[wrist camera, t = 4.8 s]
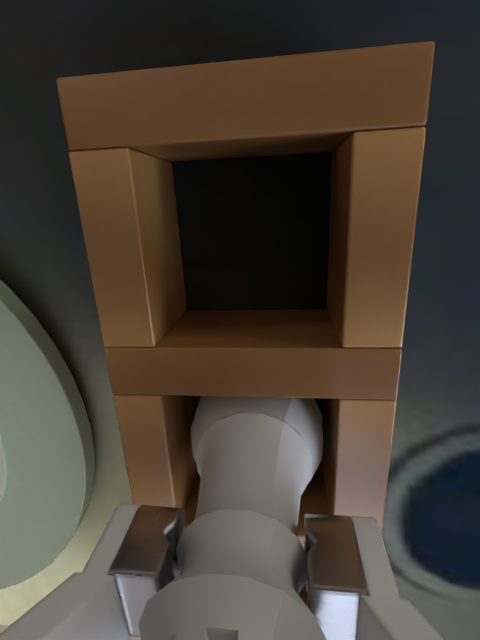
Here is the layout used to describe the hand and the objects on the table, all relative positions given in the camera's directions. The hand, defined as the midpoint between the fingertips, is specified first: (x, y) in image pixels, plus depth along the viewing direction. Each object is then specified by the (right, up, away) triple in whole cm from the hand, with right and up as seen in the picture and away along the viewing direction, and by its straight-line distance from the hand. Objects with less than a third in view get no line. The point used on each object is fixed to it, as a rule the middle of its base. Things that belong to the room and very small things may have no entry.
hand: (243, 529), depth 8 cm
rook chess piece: (+1, +1, +5) cm, 5 cm away
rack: (+1, +1, +6) cm, 6 cm away
